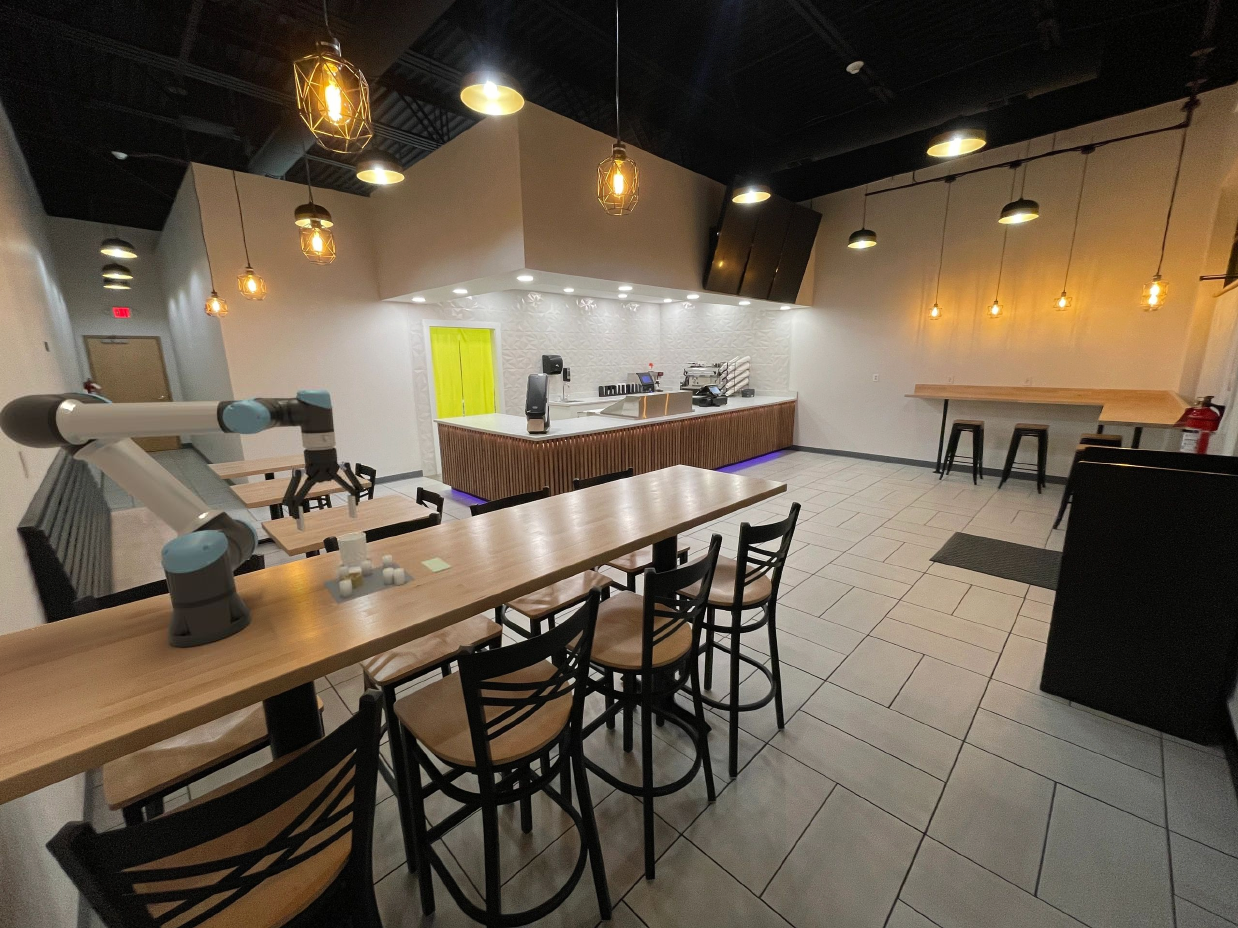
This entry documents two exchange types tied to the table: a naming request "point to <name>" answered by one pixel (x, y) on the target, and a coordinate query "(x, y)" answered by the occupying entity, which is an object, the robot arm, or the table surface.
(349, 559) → the white cup
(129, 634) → the table surface
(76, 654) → the table surface
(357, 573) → the nut
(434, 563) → the mat
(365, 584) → the spacer board
